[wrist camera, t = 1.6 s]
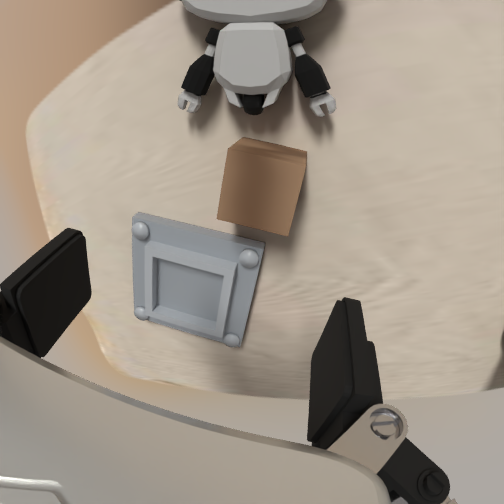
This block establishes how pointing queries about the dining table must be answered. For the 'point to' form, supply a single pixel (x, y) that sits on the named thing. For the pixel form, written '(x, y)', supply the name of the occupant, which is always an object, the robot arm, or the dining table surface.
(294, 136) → the dining table surface
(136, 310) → the base plate
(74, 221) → the dining table surface
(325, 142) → the dining table surface
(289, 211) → the walnut cube
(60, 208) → the dining table surface
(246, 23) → the robot toy
